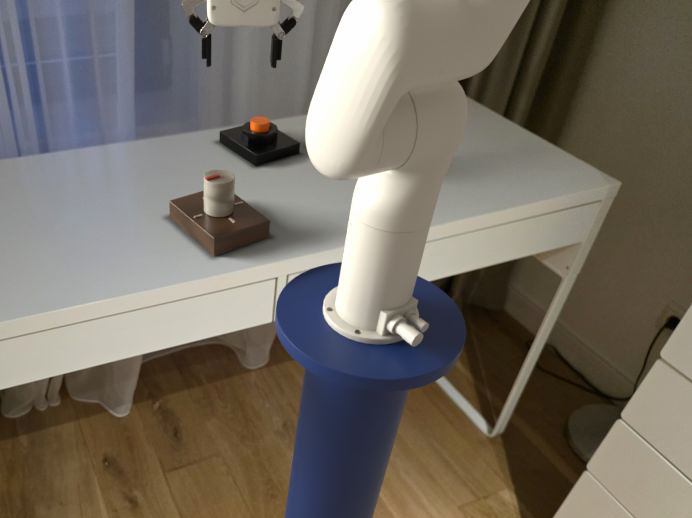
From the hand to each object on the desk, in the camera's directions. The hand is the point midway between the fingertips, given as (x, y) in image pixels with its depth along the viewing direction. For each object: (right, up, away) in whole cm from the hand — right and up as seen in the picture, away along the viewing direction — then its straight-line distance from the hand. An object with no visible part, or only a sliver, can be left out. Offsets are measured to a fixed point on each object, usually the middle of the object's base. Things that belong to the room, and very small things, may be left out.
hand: (240, 64), depth 98 cm
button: (+4, -2, +23) cm, 24 cm away
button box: (+4, -5, +26) cm, 27 cm away
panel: (-3, -24, +4) cm, 24 cm away
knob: (-3, -21, +2) cm, 22 cm away
